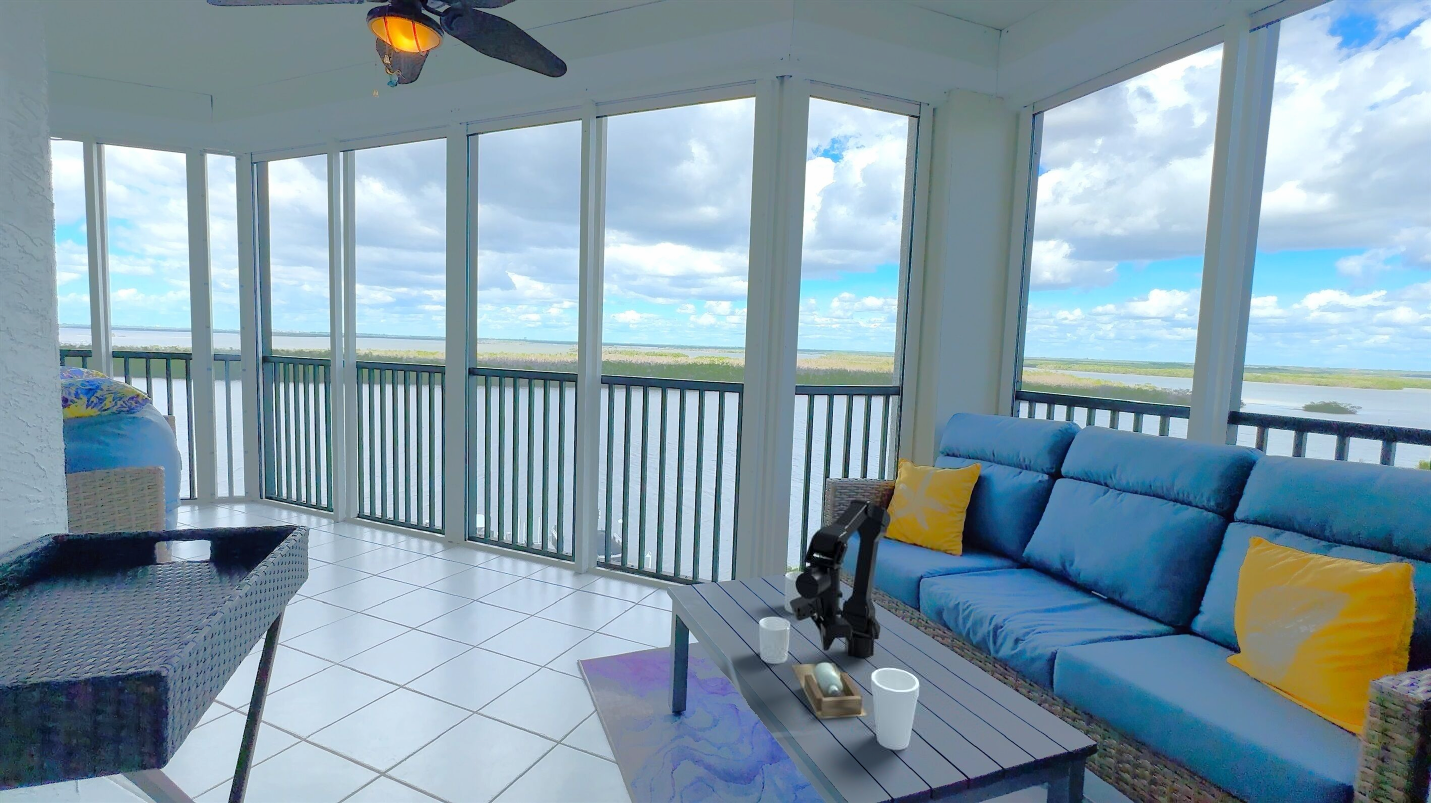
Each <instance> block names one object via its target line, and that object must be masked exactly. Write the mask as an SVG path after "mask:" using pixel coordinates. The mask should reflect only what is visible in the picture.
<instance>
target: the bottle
mask: <svg viewBox="0 0 1431 803" xmlns="http://www.w3.org/2000/svg"><path fill="white" fill-rule="evenodd" d="M829 663H830V662H821V663H817V664H818V665H817V666H816V667H815V669H814V677H815V679H816V681H817V684H818V686H819V688H820V690H821V692H822V694H823V696H824V697H826V698H828V697H842V694H841V693H842V690H843V685H842V683H841V681H840V679H839V677H838V675H837V674H836V672H835V670H834V668H833V666H832V665H831V664H829Z"/></svg>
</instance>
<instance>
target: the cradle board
mask: <svg viewBox="0 0 1431 803" xmlns="http://www.w3.org/2000/svg"><path fill="white" fill-rule="evenodd" d="M828 663H829V664H831V665H832V666H833V668H834V670H835V672H836V674H837V675H838V677H839V679H840V681H841V683H842V685H843V690H842V693H841V694H842V697H828V698H826V697H824V696H823V694H822V692H821V690H820V688H819V686H818V684H817V681H816V679H815V677H814V669H815V667H816V666H817V665H818V664H819V663H808V664H807V663H806V664H803V663H802V664H791V668H792V669H793V671H794V674H795V676H796V677H797V679H798V681H799V683H800V686H801V687H802V689H803V691H804V693H805V695H806V698H807V699H808V702H809V703H810V705H811V707H812V709H813V711H814V713H815V715H816V717H817V719H818V720H819V719H832V718H833V719H834V718H836V719H837V718H850V717H867V716H868V714H867V712H866V711H865V709H864V707H863V706H862V705H863V695H862V693H861V692H860V690H858V687H857V686H856V684H855V683H854V681H853V680H852V678H851V677H850V675H849V674H848V672H840V670H839V668H838V666H836V663H835V662H828Z"/></svg>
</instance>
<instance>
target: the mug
mask: <svg viewBox="0 0 1431 803" xmlns="http://www.w3.org/2000/svg"><path fill="white" fill-rule="evenodd" d="M803 572H804V571H790V572H789V571H788V572H786V574H785V575H784V610H785V611H786V612H788V613H791V614H793V611H792V608H791V605H790V601H791V600H793V599H796V598H798V597H801V595H800V594H799V593H798V591H797V589H796V585H795V581H796V579H797V577H798V576H799V575H800V574H801V573H803Z"/></svg>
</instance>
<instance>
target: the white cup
mask: <svg viewBox="0 0 1431 803" xmlns="http://www.w3.org/2000/svg"><path fill="white" fill-rule="evenodd" d="M758 623H759V624H758V627H759V628H758V630H759V631H758V633H759V634H758V636H759V638H758V640H759V651H760V656H759V657H760V658H761V660H762V661H764V662H765V663H768V664H772V665H773V664H774V665H778V664H783V663H784V662H786V661H787V660H788V653H789V645H790V632H791V622H790V621H789V620H788V619H786V618H784V617H779V616H769V617H768V616H767V617H764V618H761V619H760V620H759V622H758Z"/></svg>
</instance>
